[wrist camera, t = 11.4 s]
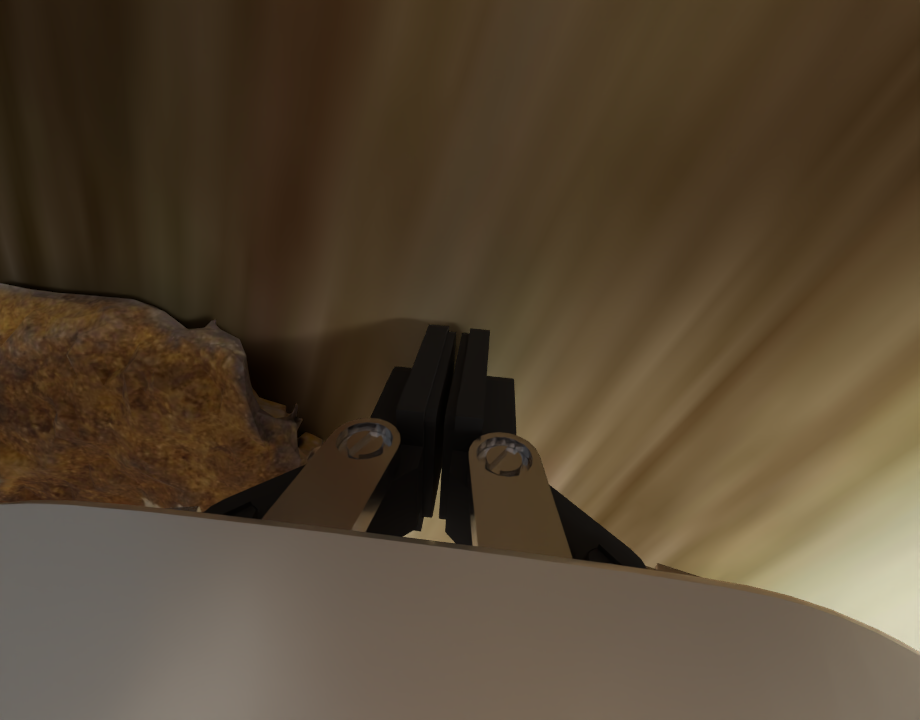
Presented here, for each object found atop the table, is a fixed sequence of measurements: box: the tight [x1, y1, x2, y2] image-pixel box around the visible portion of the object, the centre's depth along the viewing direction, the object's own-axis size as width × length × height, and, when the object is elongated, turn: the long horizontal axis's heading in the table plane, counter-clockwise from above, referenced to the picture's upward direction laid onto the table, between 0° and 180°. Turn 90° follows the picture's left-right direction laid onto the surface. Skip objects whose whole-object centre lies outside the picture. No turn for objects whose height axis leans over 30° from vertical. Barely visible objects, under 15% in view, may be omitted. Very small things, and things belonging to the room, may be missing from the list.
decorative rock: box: [0, 283, 324, 512], centre depth 13 cm, size 11×4×15 cm
